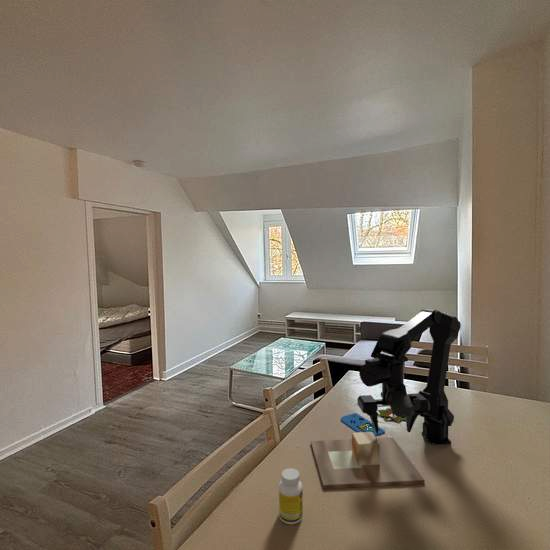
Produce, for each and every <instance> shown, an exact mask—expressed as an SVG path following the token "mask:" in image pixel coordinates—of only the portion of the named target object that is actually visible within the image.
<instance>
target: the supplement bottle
mask: <svg viewBox="0 0 550 550" xmlns="http://www.w3.org/2000/svg"><path fill="white" fill-rule="evenodd" d="M303 496H304V495H303V483H302V482H301V481H300V472H299V471H298V470H297V469H295V468H292V467H290V468H285V469H284V470H283V471H282V472H281V480H279V484H278V517H279V520H280V521H281V522H283V523H284V524H287V525H296V524H298V523H300V521H302V519H303V517H304V516H303V513H304V511H303V509H304V508H303V505H304V504H303V502H304V501H303Z"/></svg>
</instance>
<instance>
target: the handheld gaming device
mask: <svg viewBox="0 0 550 550" xmlns="http://www.w3.org/2000/svg"><path fill="white" fill-rule="evenodd" d="M340 421H341V423H343V424H344V423H345V424H344V425H346V426H348V428H350V429H351V430H353V431H354V432H355V433H356V432H373V434H374V435H375V437H378V436H380V435H384V434H385V433H386V431H385V430H384V429H383V428H381V427H380V426H378V434H376V432H375V429H374V427H373V424H372V421H371V420H368V419H367V418H365V417H364V416H362V415H360V414H359V413H357V412H353V413H350V414H347V415H343V416H341V418H340ZM366 424H367V425H366ZM367 426H368V427H367ZM369 427H372V428H369ZM367 428H368V430H367Z"/></svg>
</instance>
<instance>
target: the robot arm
mask: <svg viewBox="0 0 550 550" xmlns="http://www.w3.org/2000/svg"><path fill="white" fill-rule="evenodd" d="M461 327H462V325H461V321H459V319H458V317H456V316H453V315H449V314H445V313H443V312H441V311H440V310H437V309H431V308H423V309H421V310H420V311H419V312H418V313H417V314H416V315H415V316H413V317H412V318H411V319H409V320H408V321H407V322H405V323H404V324H403V325H401V326H400V327H397V328H393V329H389V330H386V331H384V332H382V333H381V334H379V336H378V339H377V341H376V344H375V346H374V348H373V349H372V352H371V354H370V358H372V359H370V358H369V359H365V360H364V364H363V365H361V366H360V368H359V373H358V374H359V378H360V380H361V382H362V384H364V385H365V386H366V387H369V388H370V387H374V386H377V385H381V391H380V397H381V399H375V398H374V397H373V396H372V394H368V395H367V394H366V395H359V396H358V397H357V406H358V408H359V409H360V410H361V412H362V413H363V414H366V415H367V416H369V418H370V422H372V424H373V427H374V429H375V432H376V434H378V427H379V421H378V417H379V416H378V415H379V414H380V413H378V412H377V411H378V410H379V408H380V407H381V408H382V407H383V408H384V407H387V408H388V407H389V406H391V408H392V410H393V413H394V417H397V416H398V417H401V416H405V417H406V420H405V422H406V423H405V424H406V431H407V432H408V433H411V432H412V430H413V429H412V428H413V426H414V424H415V422H416V420H417V418H418V416H419V417H422V418H423V422H422V431H421V435H422V436H423V437H424V438H425V439H426V440H427V442H429V443H430V445H439V444H440V445H442V444H443V445H444V444H446V445H447V444H452V441H451V439H449V427H452V424H453V423H454V420H455V416H454V413H452V412H451V410H450V409H449V399H448V397H447V395H446V392H445V386H446V379H447V373H448V372H447V371H448V365H449V358H450V350H451V346H452V344H453V343H454V342H455V341H456V340H457V338H458V337H459V332H460V330H461ZM428 329H429V331H428V332H429V335H430V336H431V338H432V347H431V348H432V349H431V356H430V361H429V367H428V369H429V370H428V376H427V381H426V386H425V387H424V388H423V389H422V390H419V391H418V393H415V392H414V393H408V392H407V388H406V385H405V384H404V381H405V380H404V377H405V375H404V373H405V372H404V368H405V367H404V365H405V364H404V363H406V362H409V357H408V356H406V354H407V353H408V352H409V351H410V350H411V348H412V342H413V341H414V340H415V339H417V338H418V337H420V335H422V334H423V333H425V332H426V331H427V330H428Z"/></svg>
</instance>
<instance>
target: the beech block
mask: <svg viewBox="0 0 550 550" xmlns="http://www.w3.org/2000/svg"><path fill="white" fill-rule="evenodd" d="M351 439H352V453H353V456H354V458H355V460H356V462H357V464H358V466H359V465H380V443H379V441H378V440H377V436H375V435H374V434H373V432H356V431H355V432H351Z"/></svg>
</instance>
